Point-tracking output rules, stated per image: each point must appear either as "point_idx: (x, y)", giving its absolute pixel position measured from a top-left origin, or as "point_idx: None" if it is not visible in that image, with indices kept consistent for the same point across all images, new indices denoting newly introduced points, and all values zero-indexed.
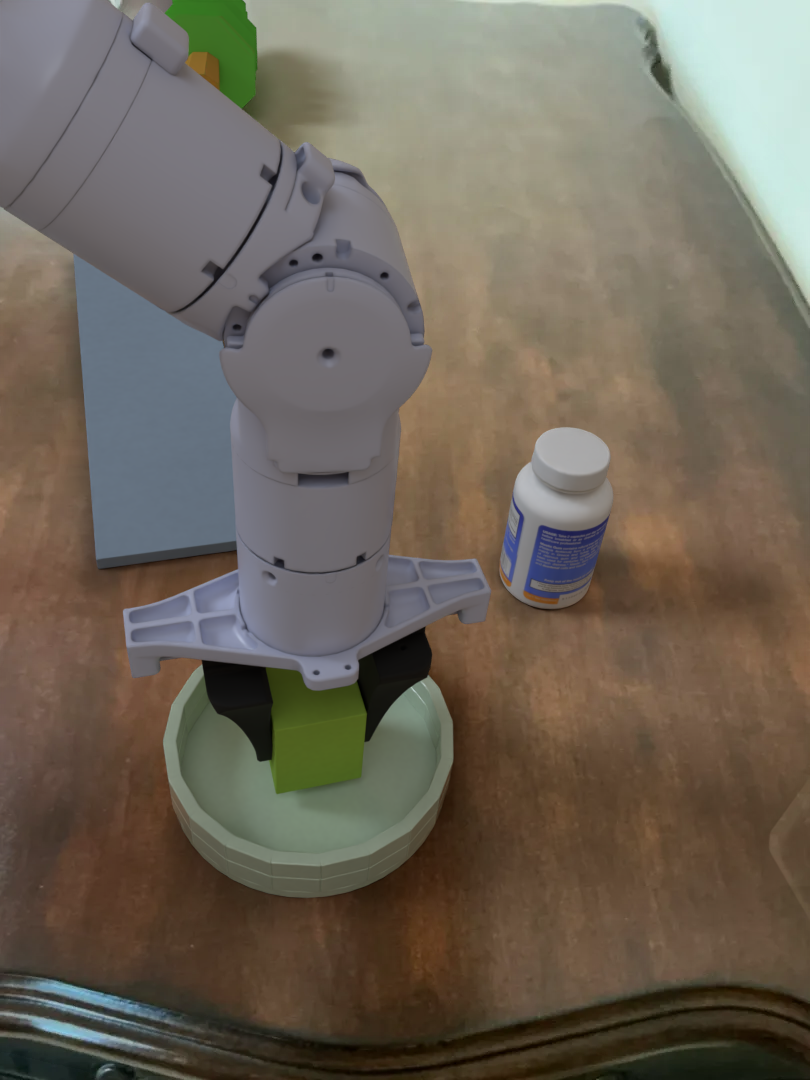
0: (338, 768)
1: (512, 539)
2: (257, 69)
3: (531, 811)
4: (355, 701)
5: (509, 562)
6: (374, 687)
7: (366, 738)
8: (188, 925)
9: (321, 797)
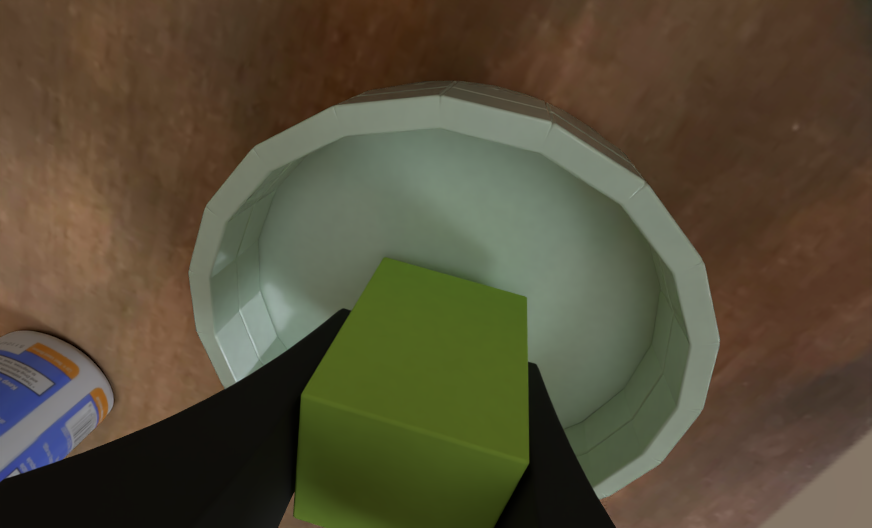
0: (414, 290)
1: (28, 464)
2: None
3: (144, 73)
4: (315, 428)
5: (68, 424)
6: (211, 507)
7: (343, 317)
8: (773, 165)
9: (456, 256)
